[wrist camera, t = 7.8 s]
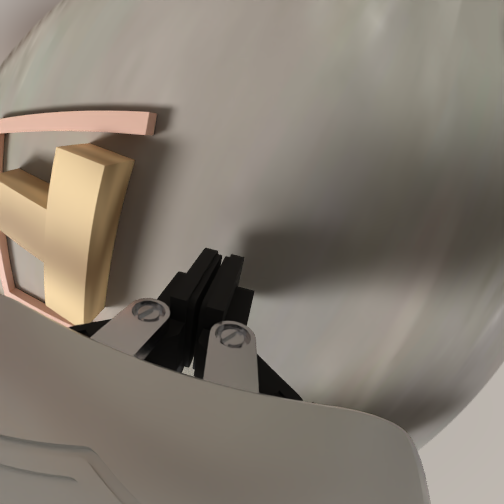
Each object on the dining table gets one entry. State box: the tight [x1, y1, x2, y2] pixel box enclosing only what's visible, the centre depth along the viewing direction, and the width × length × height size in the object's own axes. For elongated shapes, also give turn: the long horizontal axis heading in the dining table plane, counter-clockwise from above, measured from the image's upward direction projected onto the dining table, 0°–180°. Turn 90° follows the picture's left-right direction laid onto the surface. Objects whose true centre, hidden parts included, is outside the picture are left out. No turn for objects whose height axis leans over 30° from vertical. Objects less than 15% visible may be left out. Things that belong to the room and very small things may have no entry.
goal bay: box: [0, 111, 157, 328], centre depth 13 cm, size 14×14×1 cm
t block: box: [0, 143, 135, 325], centre depth 12 cm, size 9×9×2 cm
